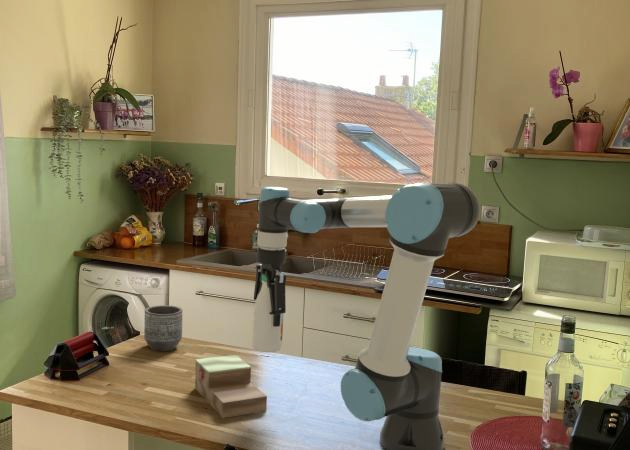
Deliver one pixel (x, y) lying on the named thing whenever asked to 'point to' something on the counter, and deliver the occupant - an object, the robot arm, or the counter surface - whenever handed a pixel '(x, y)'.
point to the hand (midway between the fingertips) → (267, 332)
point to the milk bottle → (265, 322)
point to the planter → (163, 327)
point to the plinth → (228, 386)
